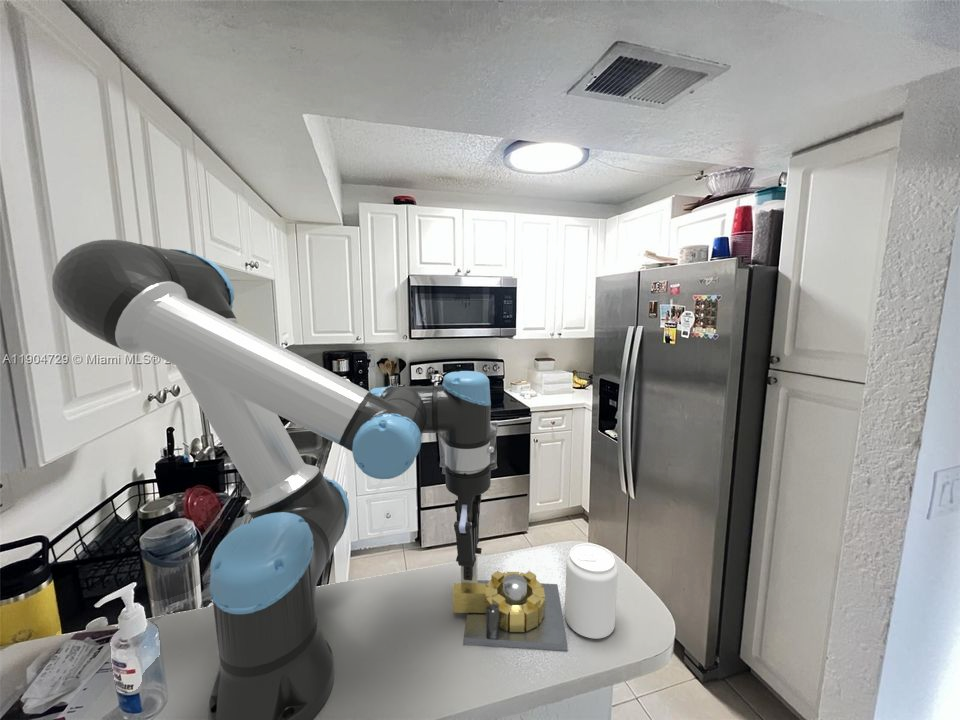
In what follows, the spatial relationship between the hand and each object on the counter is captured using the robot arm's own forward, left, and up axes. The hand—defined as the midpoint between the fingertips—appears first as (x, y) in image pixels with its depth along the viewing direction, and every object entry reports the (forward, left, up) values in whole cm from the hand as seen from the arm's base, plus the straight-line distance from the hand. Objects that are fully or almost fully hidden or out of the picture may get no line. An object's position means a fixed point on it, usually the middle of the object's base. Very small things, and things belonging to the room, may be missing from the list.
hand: (469, 590), depth 69 cm
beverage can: (+20, -2, -3) cm, 21 cm away
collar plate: (+8, -2, -3) cm, 9 cm away
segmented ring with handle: (+5, -2, -2) cm, 6 cm away
